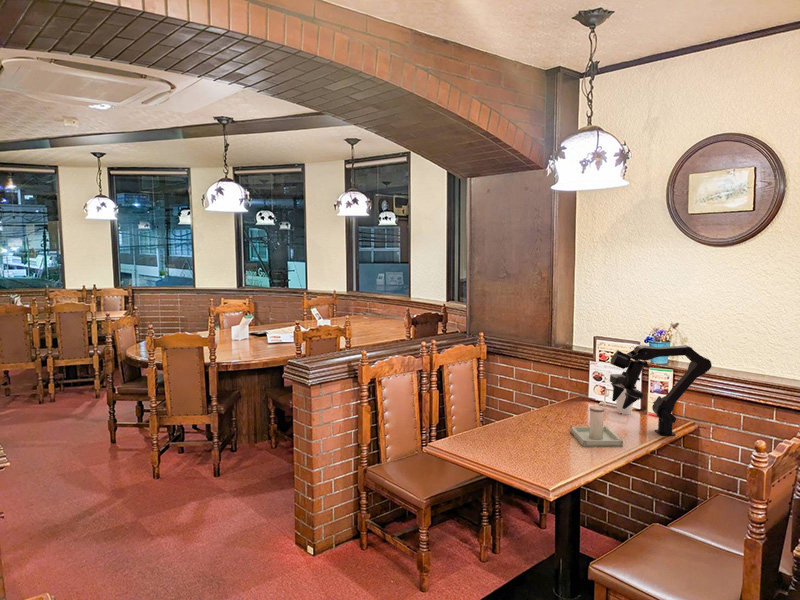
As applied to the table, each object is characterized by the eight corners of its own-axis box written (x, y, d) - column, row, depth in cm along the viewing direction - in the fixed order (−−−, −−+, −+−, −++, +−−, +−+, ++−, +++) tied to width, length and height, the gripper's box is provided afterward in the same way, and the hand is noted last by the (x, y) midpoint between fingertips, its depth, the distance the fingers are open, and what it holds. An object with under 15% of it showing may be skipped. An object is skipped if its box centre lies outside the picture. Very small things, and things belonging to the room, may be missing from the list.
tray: (622, 446, 231) (622, 440, 231) (583, 446, 231) (584, 441, 231) (606, 431, 249) (606, 426, 249) (570, 432, 249) (570, 426, 249)
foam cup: (614, 414, 274) (615, 388, 272) (613, 409, 283) (614, 383, 281) (635, 416, 271) (636, 390, 270) (633, 410, 280) (634, 385, 278)
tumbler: (605, 438, 239) (606, 408, 237) (596, 440, 236) (597, 410, 235) (595, 434, 244) (596, 405, 242) (586, 436, 241) (586, 407, 240)
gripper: (607, 360, 253) (593, 391, 256) (627, 373, 235) (612, 407, 237) (628, 368, 255) (614, 399, 257) (650, 382, 237) (635, 415, 239)
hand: (618, 404), depth 248 cm, fingers open, 9 cm apart
